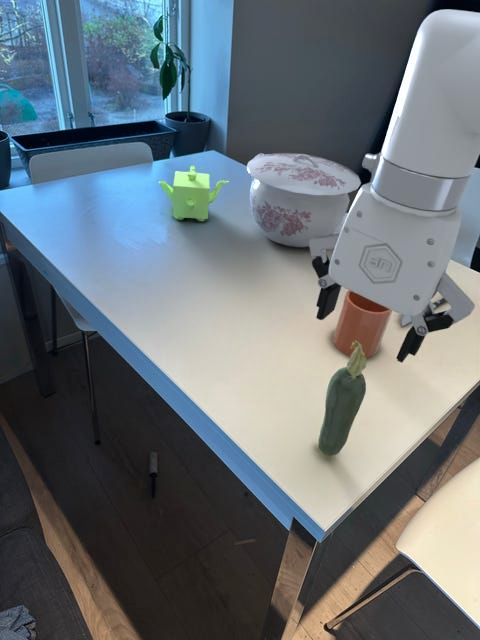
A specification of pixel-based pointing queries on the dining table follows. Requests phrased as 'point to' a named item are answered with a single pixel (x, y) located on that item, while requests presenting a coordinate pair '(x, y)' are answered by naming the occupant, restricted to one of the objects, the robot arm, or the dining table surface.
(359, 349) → the vegetable
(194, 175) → the kettle
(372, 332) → the cup
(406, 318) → the chef's knife
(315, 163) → the chamber pot
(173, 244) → the dining table surface
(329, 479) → the dining table surface
